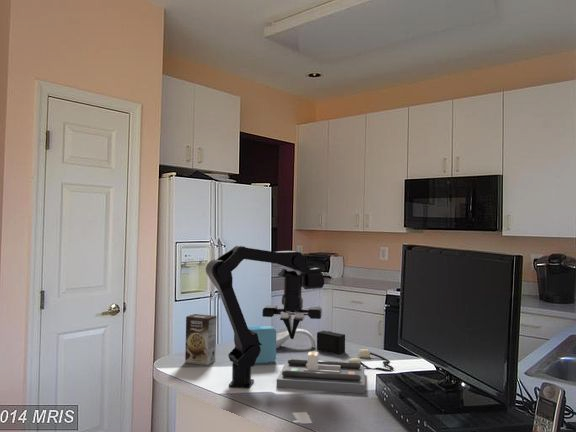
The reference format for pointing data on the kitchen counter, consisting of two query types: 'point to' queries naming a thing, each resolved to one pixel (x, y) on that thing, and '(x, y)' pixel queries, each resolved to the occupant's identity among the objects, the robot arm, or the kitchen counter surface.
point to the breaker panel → (322, 381)
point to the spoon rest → (285, 335)
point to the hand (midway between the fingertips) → (292, 338)
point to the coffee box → (200, 339)
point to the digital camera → (331, 342)
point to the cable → (366, 354)
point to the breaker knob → (312, 360)
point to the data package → (266, 343)
